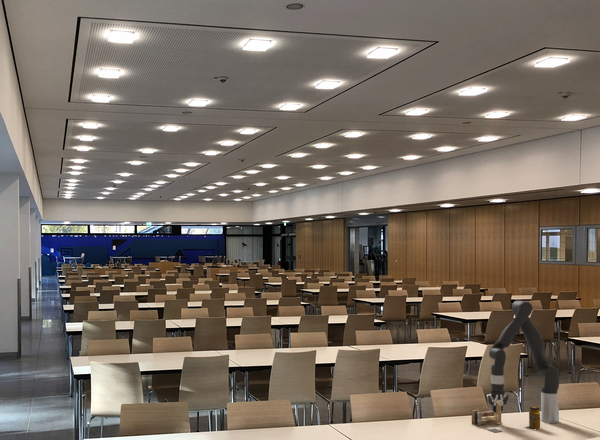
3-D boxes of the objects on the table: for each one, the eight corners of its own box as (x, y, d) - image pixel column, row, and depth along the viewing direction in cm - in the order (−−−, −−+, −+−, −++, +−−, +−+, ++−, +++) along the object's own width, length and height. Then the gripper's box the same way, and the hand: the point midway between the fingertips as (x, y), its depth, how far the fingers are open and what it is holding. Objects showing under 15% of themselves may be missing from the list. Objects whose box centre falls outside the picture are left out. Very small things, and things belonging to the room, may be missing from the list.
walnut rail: (494, 420, 378) (494, 406, 379) (497, 421, 376) (497, 407, 377) (471, 424, 370) (471, 410, 370) (474, 425, 368) (474, 411, 368)
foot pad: (494, 428, 360) (494, 428, 360) (502, 431, 355) (502, 431, 355) (487, 430, 358) (487, 429, 358) (494, 432, 352) (494, 432, 352)
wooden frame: (498, 422, 372) (498, 401, 373) (501, 423, 369) (501, 402, 370) (476, 423, 368) (476, 403, 369) (479, 425, 365) (479, 404, 366)
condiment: (543, 428, 362) (543, 407, 362) (534, 431, 357) (534, 409, 357) (532, 425, 368) (532, 404, 368) (523, 427, 363) (523, 406, 364)
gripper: (505, 380, 376) (505, 409, 376) (483, 381, 374) (483, 410, 373) (511, 383, 369) (511, 413, 368) (489, 384, 366) (489, 414, 366)
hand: (497, 411), depth 371 cm, fingers closed on wooden frame, 3 cm apart
